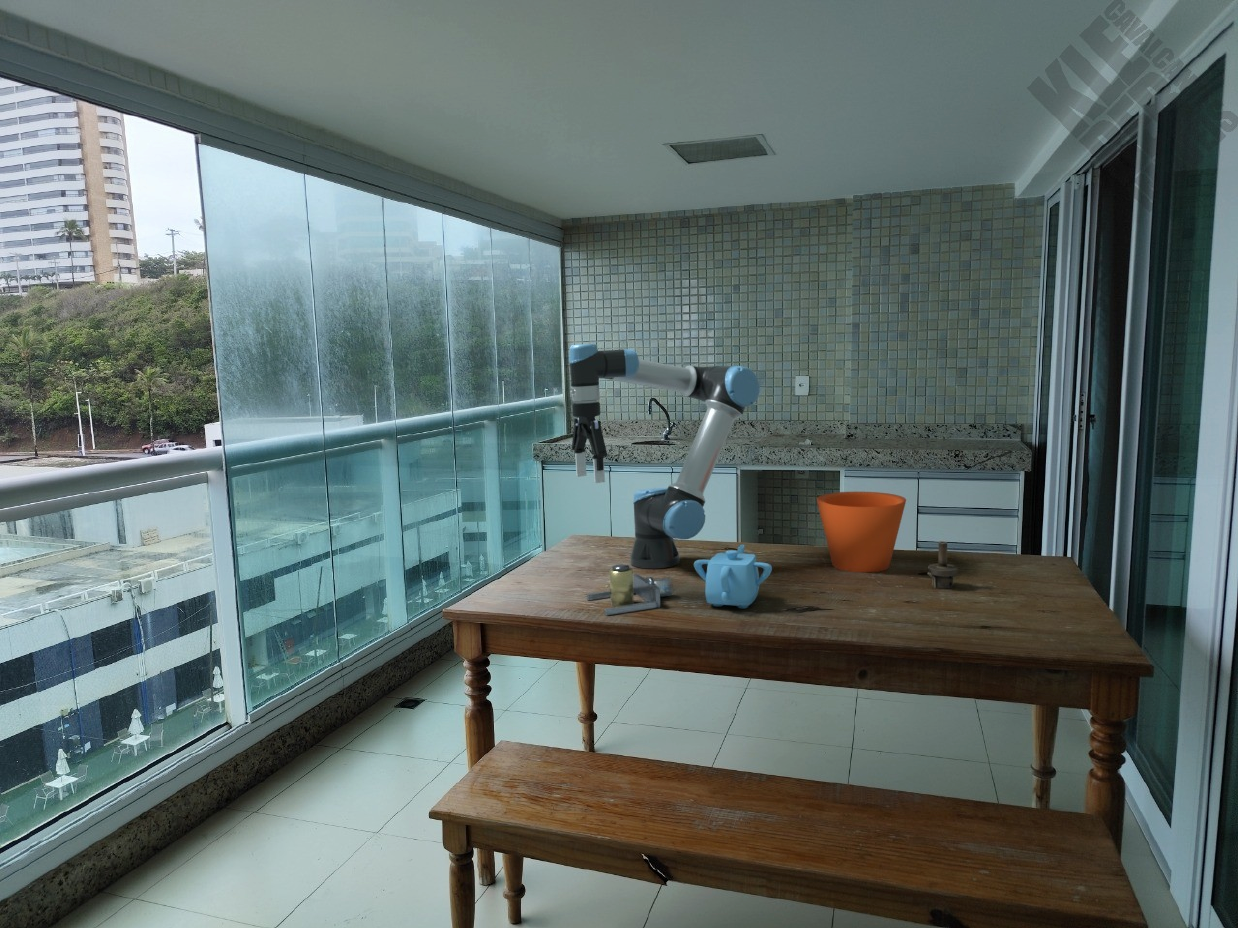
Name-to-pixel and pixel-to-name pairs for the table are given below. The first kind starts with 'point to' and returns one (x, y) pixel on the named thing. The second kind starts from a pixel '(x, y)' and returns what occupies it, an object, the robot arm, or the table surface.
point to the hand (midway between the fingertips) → (590, 479)
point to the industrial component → (942, 569)
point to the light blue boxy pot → (732, 578)
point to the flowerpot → (861, 528)
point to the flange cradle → (639, 594)
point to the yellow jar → (621, 585)
